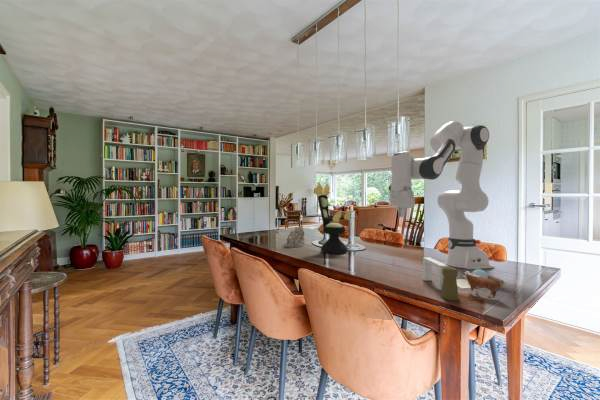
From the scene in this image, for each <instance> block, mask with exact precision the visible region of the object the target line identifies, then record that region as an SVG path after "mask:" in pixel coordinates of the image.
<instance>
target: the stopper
mask: <svg viewBox="0 0 600 400" xmlns="http://www.w3.org/2000/svg"><path fill="white" fill-rule="evenodd" d="M487 275H488V279H493V280H497V281H499V283H500V288H499V290H501V289H505V280H503V279H501V278H497V277H495V276H492V275H490V274H488V273H487ZM498 287H499V286H498Z"/></svg>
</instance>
